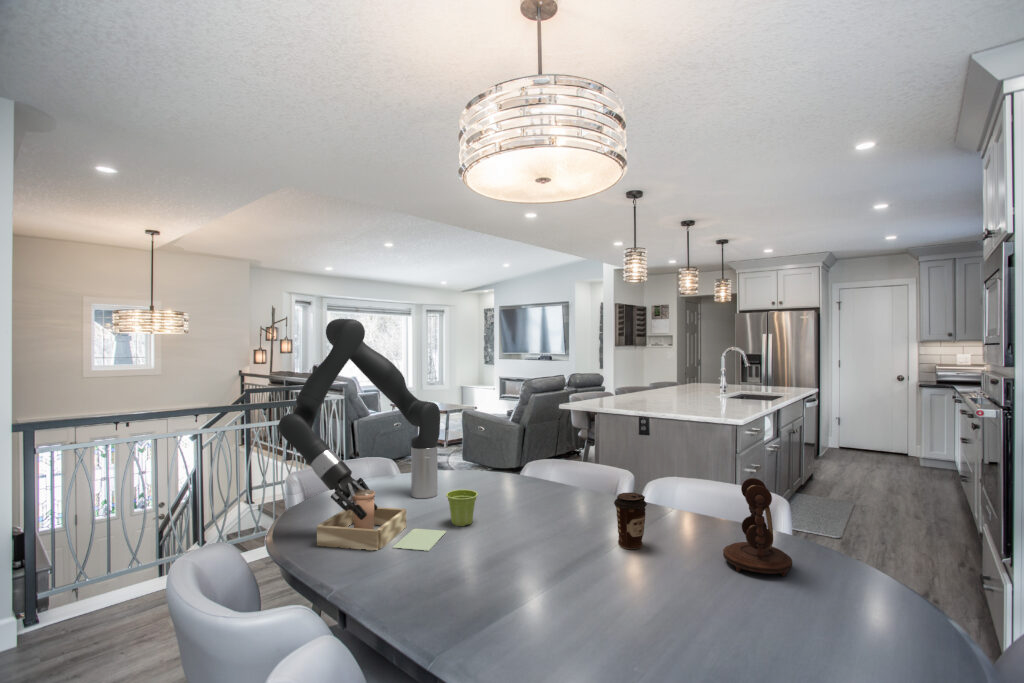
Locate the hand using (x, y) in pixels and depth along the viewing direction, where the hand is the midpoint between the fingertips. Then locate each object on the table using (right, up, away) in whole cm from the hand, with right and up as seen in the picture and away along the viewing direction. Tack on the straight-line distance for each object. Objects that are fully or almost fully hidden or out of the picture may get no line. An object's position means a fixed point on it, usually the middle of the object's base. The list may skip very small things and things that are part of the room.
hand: (369, 513), depth 142 cm
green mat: (+15, -6, -4) cm, 16 cm away
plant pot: (+25, -6, +10) cm, 27 cm away
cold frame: (-2, -6, 0) cm, 6 cm away
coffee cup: (+71, -6, -8) cm, 72 cm away
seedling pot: (-2, -4, 0) cm, 5 cm away
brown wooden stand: (+98, -5, -21) cm, 100 cm away
